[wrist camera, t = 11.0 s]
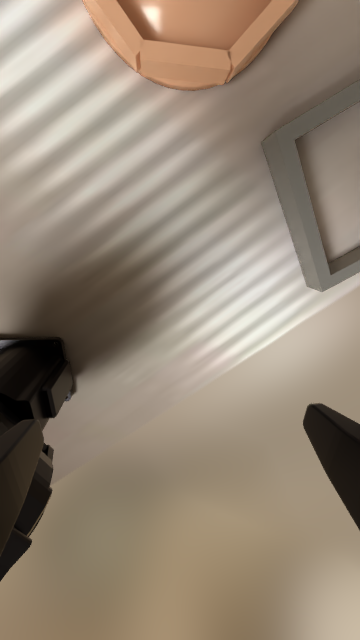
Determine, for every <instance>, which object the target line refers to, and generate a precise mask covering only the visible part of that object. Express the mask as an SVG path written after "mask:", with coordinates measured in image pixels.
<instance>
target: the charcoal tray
mask: <svg viewBox="0 0 360 640" xmlns="http://www.w3.org/2000/svg"><path fill="white" fill-rule="evenodd" d="M359 101H360V80H358V81H356V82H355V83H353V84H352V85H350V86H348V87H347V88H345V89H343V90H342V91H340V92H338V93H337V94H335V95H334V96H332V97H330V98H329V99H327V100H325V101H324V102H322V103H320V104H319V105H317V106H316V107H314V108H312V109H311V110H309V111H307V112H306V113H304V114H302V115H301V116H299V117H298V118H296V119H294V120H293V121H291V122H289V123H288V124H286V125H284V126H283V127H281V128H280V129H278V130H276V131H275V132H274V133H272V134H271V135H270V136H269V137H267V138H266V139H265V140H264V141H263V142H261V143H262V146H263V150H264V153H265V156H266V159H267V162H268V165H269V168H270V172H271V175H272V178H273V181H274V184H275V187H276V190H277V194H278V197H279V200H280V203H281V206H282V209H283V212H284V215H285V219H286V222H287V225H288V228H289V231H290V234H291V237H292V241H293V244H294V247H295V250H296V253H297V256H298V259H299V263H300V266H301V269H302V272H303V275H304V278H305V281H306V285H307V287H310V288H313V289H315V290H318V291H321V292H323V291H325V290H327V289H329V288H331V287H333V286H335V285H337V284H338V283H340V282H342V281H344V280H346V279H348V278H350V277H352V276H353V275H355V274H357V273H359V272H360V247H358V248H356V249H355V250H353V251H351V252H349V253H347V254H345V255H344V256H342V257H340V258H338V259H336V260H334V261H332V262H331V263H329V264H328V263H327V259H326V256H325V252H324V248H323V244H322V241H321V237H320V233H319V229H318V226H317V222H316V218H315V214H314V211H313V207H312V203H311V199H310V196H309V192H308V188H307V184H306V181H305V177H304V173H303V169H302V166H301V162H300V158H299V154H298V151H297V147H296V143H295V140H296V139H298V138H299V137H301V136H303V135H304V134H306V133H308V132H309V131H311V130H313V129H314V128H316V127H318V126H319V125H321V124H323V123H324V122H326V121H327V120H329V119H331V118H332V117H334V116H336V115H337V114H339V113H341V112H342V111H344V110H346V109H347V108H349V107H351V106H352V105H354V104H356V103H357V102H359Z"/></svg>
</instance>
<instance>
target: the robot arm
mask: <svg viewBox="0 0 360 640" xmlns="http://www.w3.org/2000/svg"><path fill="white" fill-rule="evenodd" d="M54 342H57V343H58V344H59V345H56V344H55V343H54ZM72 385H73V380H72V374H71V368H70V362H69V361H68V360H66V354H65V348H64V343H63V340H62V339H61V338H58V337H44V338H0V581H1V580H2V578H3V577H4V576H5V574H6V573H7V572H8V571H9V569H10V568H11V567H12V566H13V565H14V564H15V563H16V561H17V560H18V559H19V558H20V557H21V556H22V555H23V554H24V553H25V552H26V551H27V549H28V548H29V547H30V545H31V543H32V540H31V539H30V538H29V536H30V535H31V533H32V532H33V530H34V529H35V527H36V526H37V524H38V522H39V520H40V519H41V517H42V515H43V512H44V510H45V508H46V506H47V504H48V502H49V499H50V497H51V494H52V488H51V487H50V482H51V478H52V473H53V465H52V459H53V451H54V450H53V449H52V448H51V447H50V446H49V445H46V444H45V443H44V437H43V433H42V431H43V429H44V427H45V425H46V423H47V422H48V420H49V418H55V417H56V416H57V414H58V412H59V410H60V408H61V407H62V405H63V403H64V401H69V400H70V399H71V397H72V389H71V387H72ZM303 426H304V429H305V431H306V433H307V435H308V437H309V439H310V442H311V444H312V446H313V448H314V450H315V452H316V454H317V456H318V458H319V460H320V462H321V464H322V466H323V468H324V470H325V472H326V474H327V476H328V477H329V479H330V481H331V483H332V484H333V486H334V488H335V490H336V491H337V493H338V495H339V496H340V498H341V500H342V501H343V503H344V505H345V506H346V508H347V510H348V511H349V513H350V515H351V517H352V518H353V520H354V522H355V523H356V525H357V526H358V528H359V530H360V424H358V423H356V422H355V421H353V420H351V419H349V418H347V417H345V416H344V415H342V414H340V413H338V412H336V411H335V410H332V409H331V408H329V407H327V406H325V405H323V404H320V403H315V404H309V405H308V406H307V410H306V413H305V416H304V420H303Z"/></svg>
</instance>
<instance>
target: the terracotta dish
mask: <svg viewBox="0 0 360 640" xmlns="http://www.w3.org/2000/svg"><path fill="white" fill-rule="evenodd" d="M82 1H83V3H84V5H85V7H86V9H87V11H88V13H89V15H90V17H91V18H92V20H93V22H94V24H95V26H96V27H97V29H98V30H99V32H100V33H101V35H102V36H103V38H104V39H105V40H106V42H107V43H108V44H109V45H110V47H111V48H112V49H113V50H114V51H115V53H116V54H117V55H118V56H119V57H120V58H121V59H122V60H123V61H124V62H125V63H126V64H128V65H129V66H130V67H131V68H132V69H134V70H135V71H136V72H137V73H139V74H140V75H141V76H143V77H145V78H147V79H149V80H151V81H153V82H154V83H157V84H159V85H162V86H165V87H168V88H172V89H177V90H192V91H195V90H201V89H208V88H211V87H214V86H217V85H223V84H224V82H225V81H226V82H227V83H228V82H229V81H230V80H231V79H232V78H233V77H234V76H235V75H237V74H238V73H240V72H241V71H242V70H244V69H245V68H246V67H247V66H248V65H249V64H250V63H251V62H252V61H253V60H254V59H255V58H256V56H257V55H258V54H259V53H260V51H261V50H262V49H263V48H264V46H265V45H266V43H267V42H268V40H269V38H270V37H271V35H272V34H273V32H274V31H275V29H276V28H277V27H278V26H279V25H280V24H281V23H282V22H283V21H284V19H285V18H286V17H287V16H288V15H289V14H290V13H291V12H292V11H293V9H294V8H295V6H296V4H297V3H298V1H299V0H82Z"/></svg>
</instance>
